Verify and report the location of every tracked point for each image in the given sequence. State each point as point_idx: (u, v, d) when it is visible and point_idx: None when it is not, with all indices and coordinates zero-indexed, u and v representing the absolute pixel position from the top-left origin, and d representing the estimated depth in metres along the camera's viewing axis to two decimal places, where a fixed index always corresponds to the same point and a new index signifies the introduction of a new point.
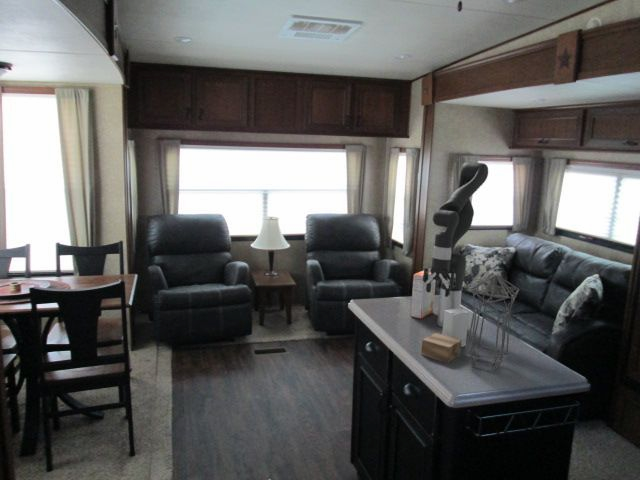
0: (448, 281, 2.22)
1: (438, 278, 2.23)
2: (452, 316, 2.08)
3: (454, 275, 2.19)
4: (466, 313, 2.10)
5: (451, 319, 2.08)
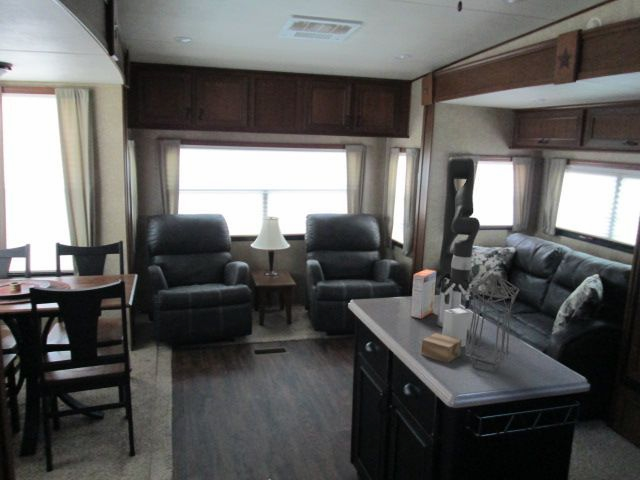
0: (468, 292, 2.08)
1: (457, 289, 2.09)
2: (452, 316, 2.08)
3: None
4: (466, 313, 2.10)
5: (451, 319, 2.08)
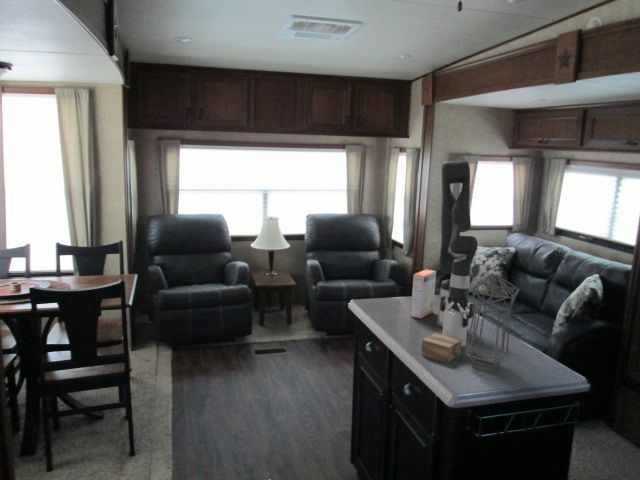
0: (466, 311, 2.10)
1: (456, 307, 2.10)
2: (452, 316, 2.08)
3: None
4: None
5: (451, 319, 2.08)
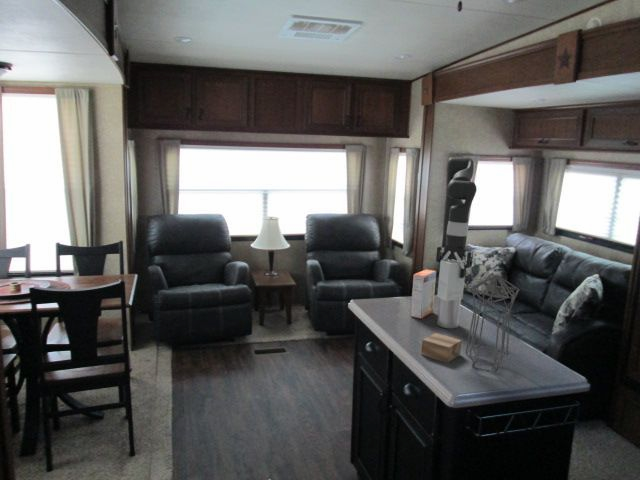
0: (464, 261, 1.99)
1: (453, 257, 1.99)
2: (449, 265, 1.97)
3: (471, 254, 1.95)
4: None
5: (448, 269, 1.97)
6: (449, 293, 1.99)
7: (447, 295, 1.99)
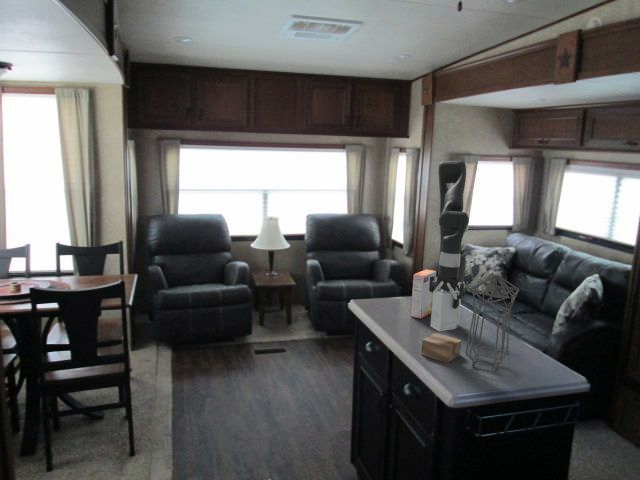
0: (457, 291, 1.97)
1: (446, 287, 1.98)
2: (441, 296, 1.95)
3: (464, 285, 1.94)
4: None
5: (440, 300, 1.96)
6: (442, 323, 1.98)
7: (440, 326, 1.98)
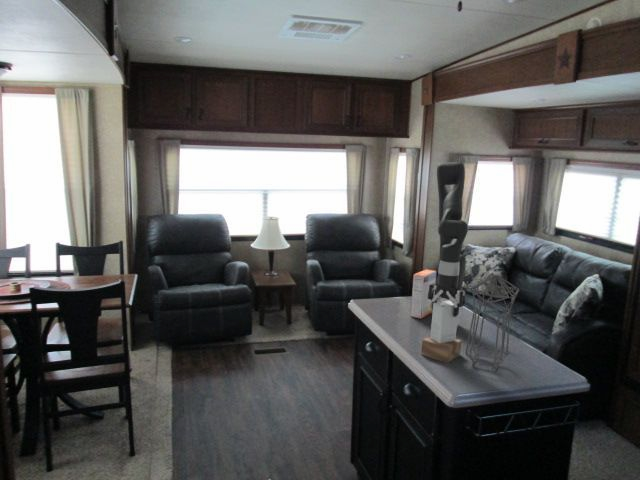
0: (456, 299, 1.98)
1: (445, 296, 1.98)
2: (442, 309, 1.96)
3: (463, 293, 1.94)
4: None
5: (441, 312, 1.96)
6: (442, 336, 1.98)
7: (440, 338, 1.98)
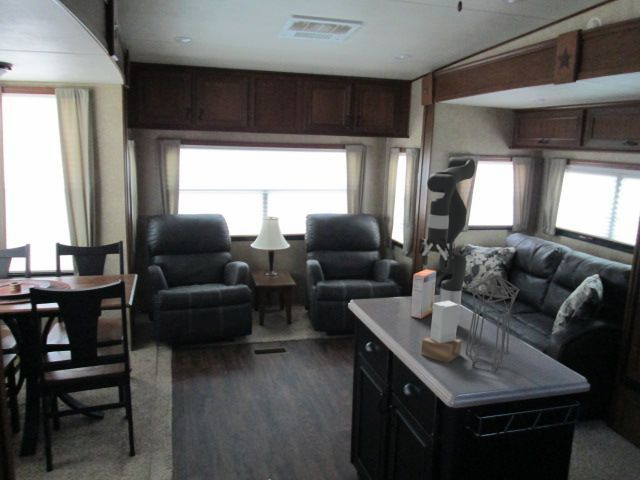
0: (446, 252, 2.02)
1: (435, 249, 2.03)
2: (442, 309, 1.96)
3: (453, 245, 1.99)
4: (456, 306, 1.99)
5: (441, 312, 1.96)
6: (442, 336, 1.98)
7: (440, 338, 1.98)
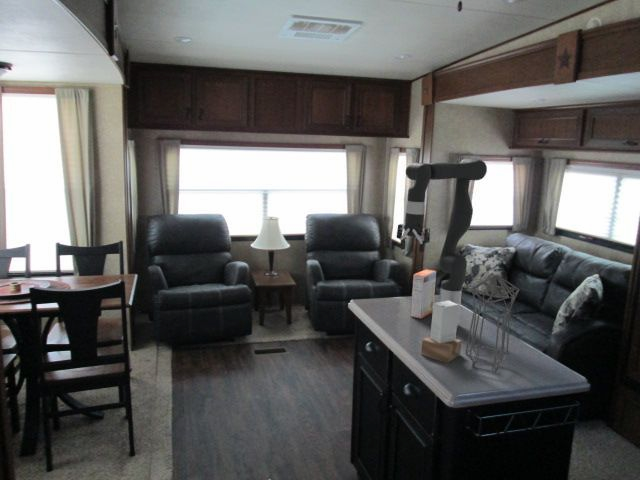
0: (422, 237, 2.15)
1: (412, 234, 2.16)
2: (442, 309, 1.96)
3: (428, 230, 2.12)
4: (456, 306, 1.99)
5: (441, 312, 1.96)
6: (442, 336, 1.98)
7: (440, 338, 1.98)
